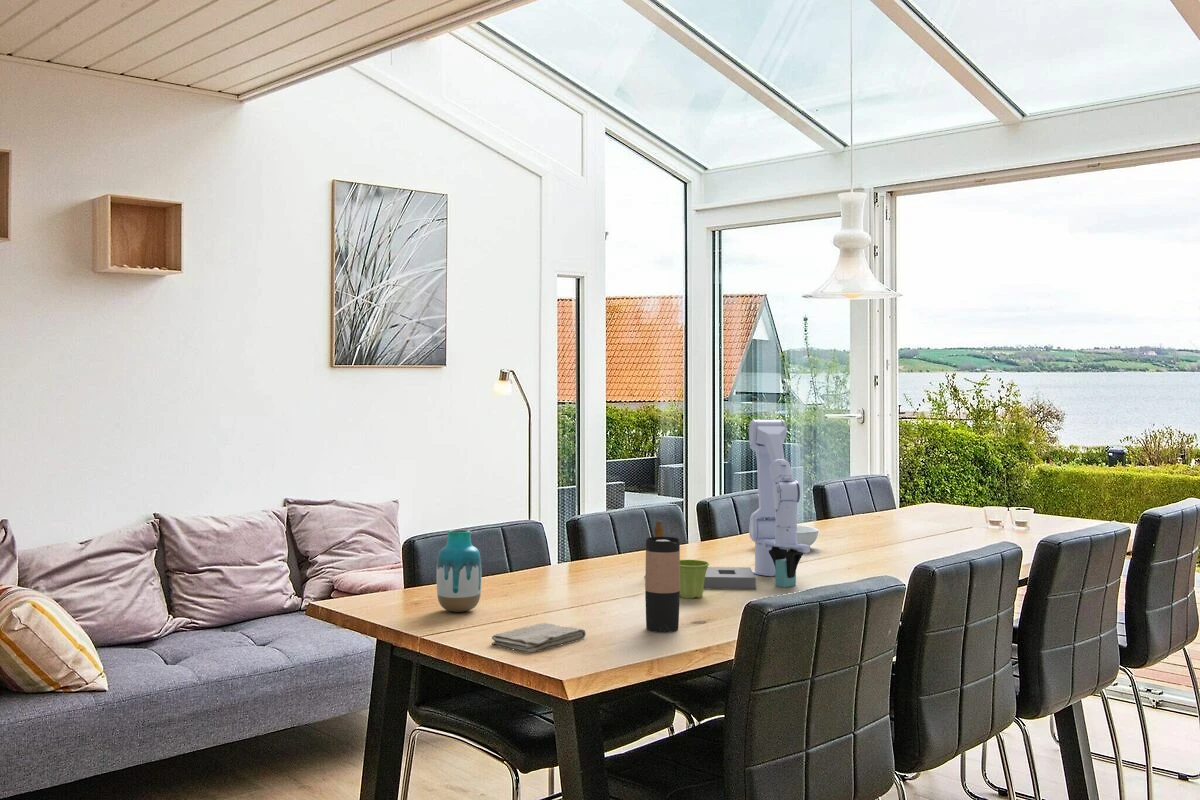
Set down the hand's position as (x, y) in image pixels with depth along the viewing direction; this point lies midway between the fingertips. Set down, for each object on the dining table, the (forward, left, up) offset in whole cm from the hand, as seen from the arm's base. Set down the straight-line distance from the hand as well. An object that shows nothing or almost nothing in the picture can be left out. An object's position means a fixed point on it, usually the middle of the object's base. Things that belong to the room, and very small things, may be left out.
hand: (785, 576), depth 294 cm
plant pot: (+30, -7, -3) cm, 31 cm away
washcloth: (+90, +5, -3) cm, 90 cm away
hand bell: (+17, -31, -3) cm, 35 cm away
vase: (+85, -31, -3) cm, 91 cm away
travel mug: (+62, +14, -3) cm, 64 cm away
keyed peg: (0, 0, -2) cm, 2 cm away
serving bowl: (-53, -41, -3) cm, 67 cm away
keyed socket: (+9, -13, -2) cm, 16 cm away
